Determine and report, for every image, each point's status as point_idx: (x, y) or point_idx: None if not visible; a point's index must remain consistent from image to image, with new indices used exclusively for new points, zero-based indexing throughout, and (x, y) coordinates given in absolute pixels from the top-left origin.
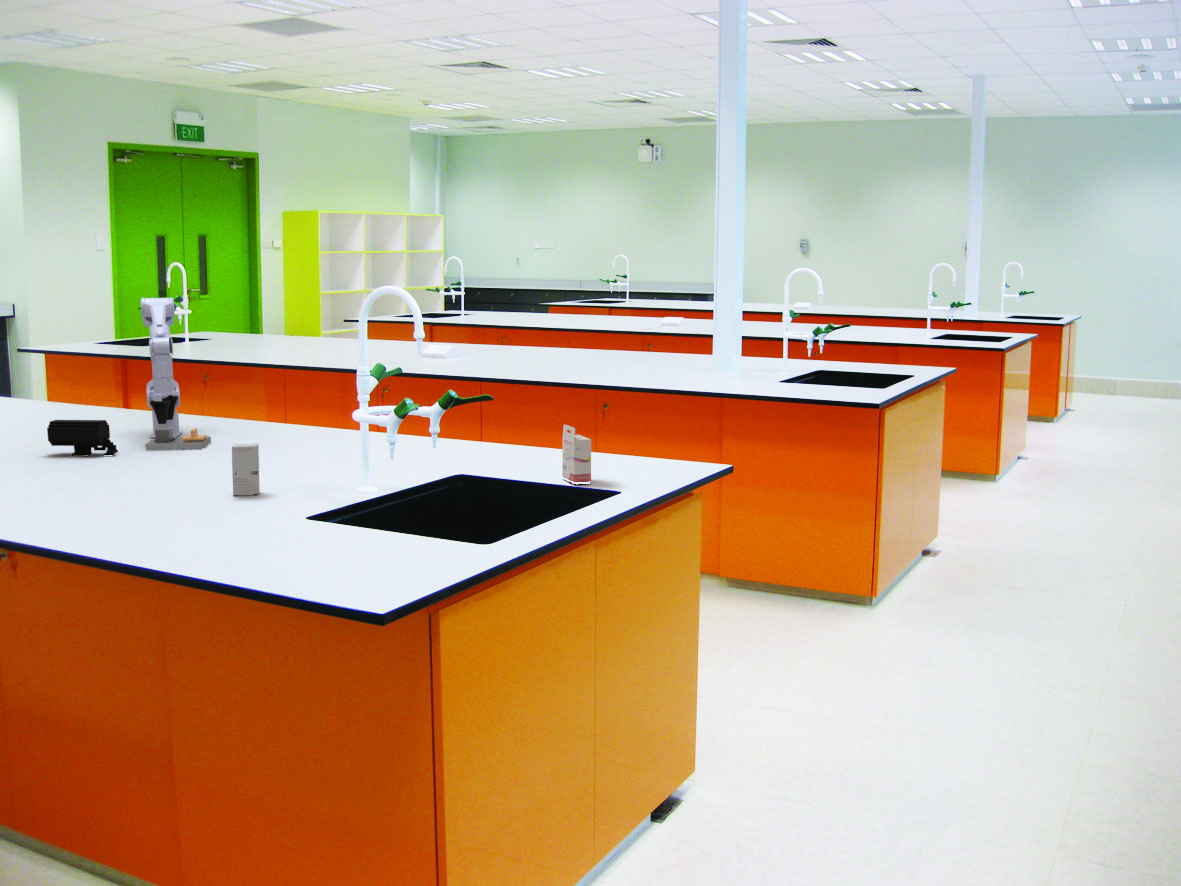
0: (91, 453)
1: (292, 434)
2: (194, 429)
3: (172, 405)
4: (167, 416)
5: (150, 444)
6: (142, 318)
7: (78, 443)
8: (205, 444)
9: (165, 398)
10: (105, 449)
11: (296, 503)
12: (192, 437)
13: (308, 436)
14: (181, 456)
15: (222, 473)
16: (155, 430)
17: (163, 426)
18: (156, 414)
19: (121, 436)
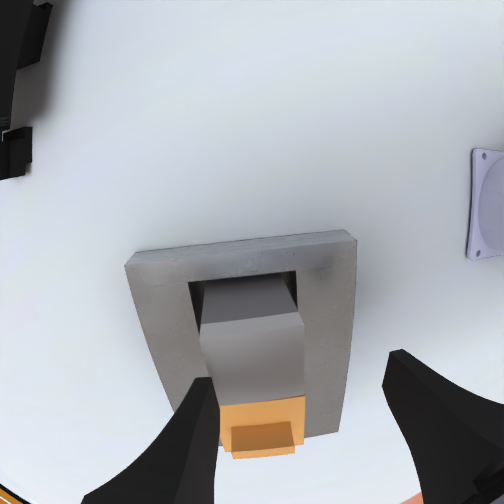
0: (35, 60)
1: (408, 474)
2: (267, 453)
3: (421, 466)
4: (396, 381)
5: (131, 286)
6: None
7: None
8: None
9: (465, 487)
10: (6, 129)
11: None
12: (231, 431)
13: (372, 496)
14: (69, 397)
15: (2, 443)
16: (202, 325)
17: (220, 381)
18: (165, 433)
19: (492, 37)
